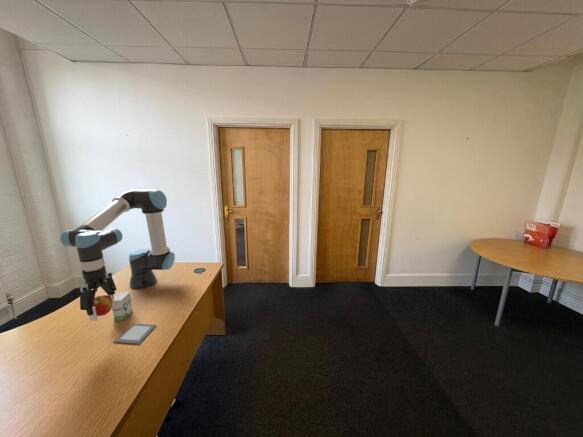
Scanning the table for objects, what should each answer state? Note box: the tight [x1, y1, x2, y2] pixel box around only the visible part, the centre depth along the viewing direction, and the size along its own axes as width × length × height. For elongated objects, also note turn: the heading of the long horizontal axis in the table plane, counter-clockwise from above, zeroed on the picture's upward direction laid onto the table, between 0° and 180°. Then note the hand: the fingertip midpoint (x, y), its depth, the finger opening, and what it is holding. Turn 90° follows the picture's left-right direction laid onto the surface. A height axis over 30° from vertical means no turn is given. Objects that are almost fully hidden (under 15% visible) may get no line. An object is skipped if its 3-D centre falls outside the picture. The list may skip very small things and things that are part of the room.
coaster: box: [113, 323, 157, 345], centre depth 107 cm, size 12×12×1 cm
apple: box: [93, 294, 113, 317], centre depth 99 cm, size 8×8×10 cm
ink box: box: [111, 291, 133, 322], centre depth 118 cm, size 9×5×12 cm, turn 9°
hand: (102, 313), depth 101 cm, fingers closed on apple, 8 cm apart
